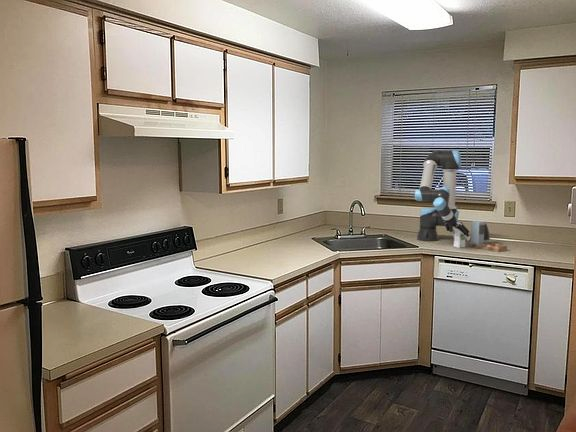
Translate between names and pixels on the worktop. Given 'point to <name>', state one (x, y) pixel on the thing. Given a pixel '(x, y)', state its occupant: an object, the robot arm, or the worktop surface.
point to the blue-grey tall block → (477, 232)
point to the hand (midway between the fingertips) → (462, 238)
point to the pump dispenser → (486, 234)
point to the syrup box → (459, 239)
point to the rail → (490, 247)
